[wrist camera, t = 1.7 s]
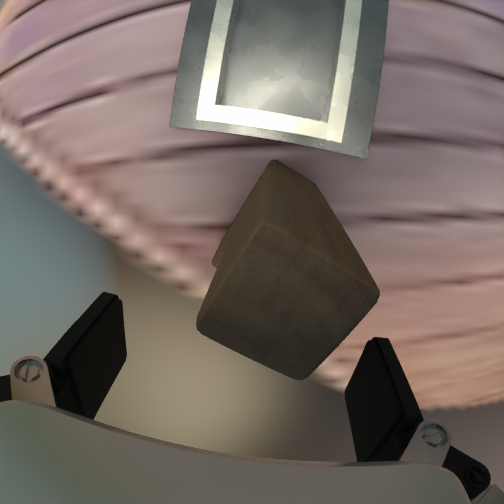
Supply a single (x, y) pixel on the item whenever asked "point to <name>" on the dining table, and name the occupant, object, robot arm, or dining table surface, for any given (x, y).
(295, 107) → the end cap
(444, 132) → the dining table surface
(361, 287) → the wooden block
